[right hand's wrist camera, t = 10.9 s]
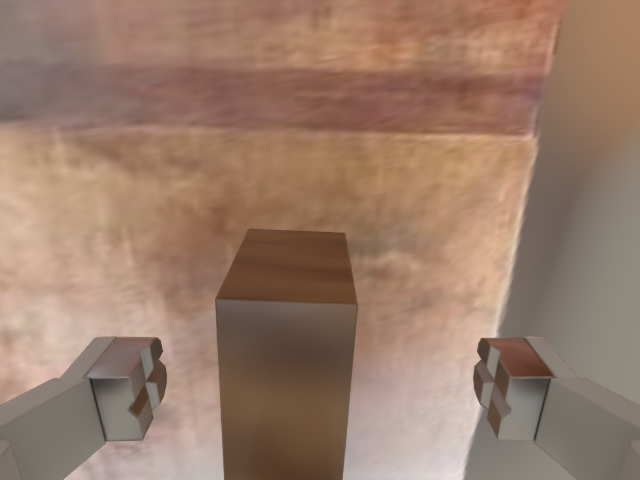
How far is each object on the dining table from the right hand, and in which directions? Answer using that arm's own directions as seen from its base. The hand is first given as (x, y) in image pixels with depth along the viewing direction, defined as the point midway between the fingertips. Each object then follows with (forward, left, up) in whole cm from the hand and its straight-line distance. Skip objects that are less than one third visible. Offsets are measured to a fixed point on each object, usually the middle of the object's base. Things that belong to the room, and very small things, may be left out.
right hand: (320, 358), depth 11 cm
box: (+16, -2, -15) cm, 22 cm away
